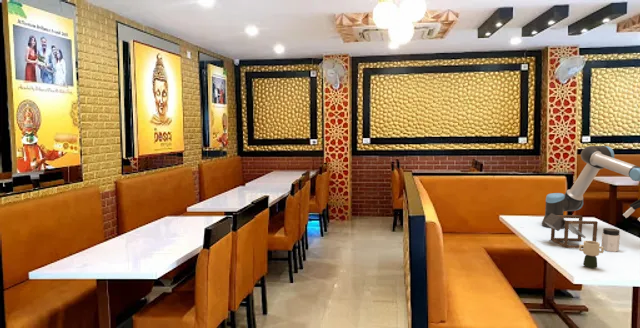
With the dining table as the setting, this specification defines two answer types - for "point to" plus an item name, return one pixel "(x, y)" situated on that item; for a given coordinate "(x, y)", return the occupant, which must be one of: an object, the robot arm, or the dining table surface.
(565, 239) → the trapdoor frame
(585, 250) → the character mug
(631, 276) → the dining table surface
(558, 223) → the trapdoor
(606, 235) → the jar
